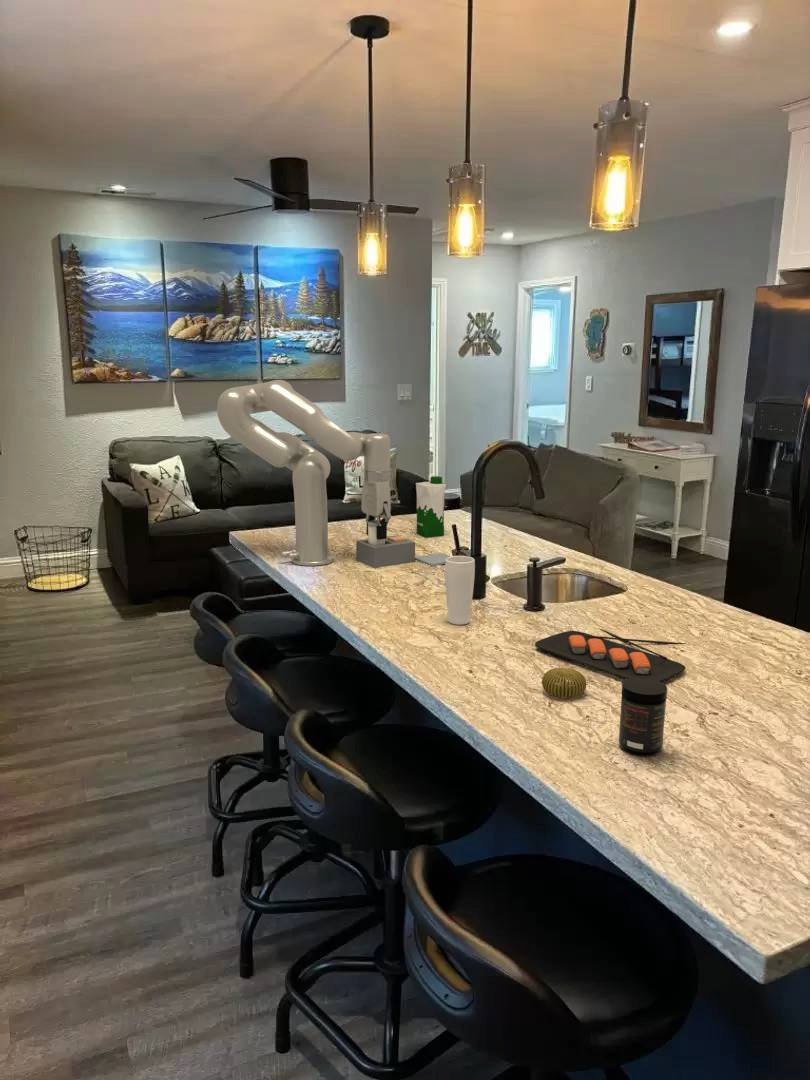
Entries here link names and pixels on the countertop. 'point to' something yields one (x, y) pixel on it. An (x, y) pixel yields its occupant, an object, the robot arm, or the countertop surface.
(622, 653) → the sushi plate
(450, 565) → the drinking glass
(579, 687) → the sculpture
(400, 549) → the box
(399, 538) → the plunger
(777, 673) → the countertop surface
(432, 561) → the mat
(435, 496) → the milk carton
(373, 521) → the cartridge
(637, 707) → the supplement container
